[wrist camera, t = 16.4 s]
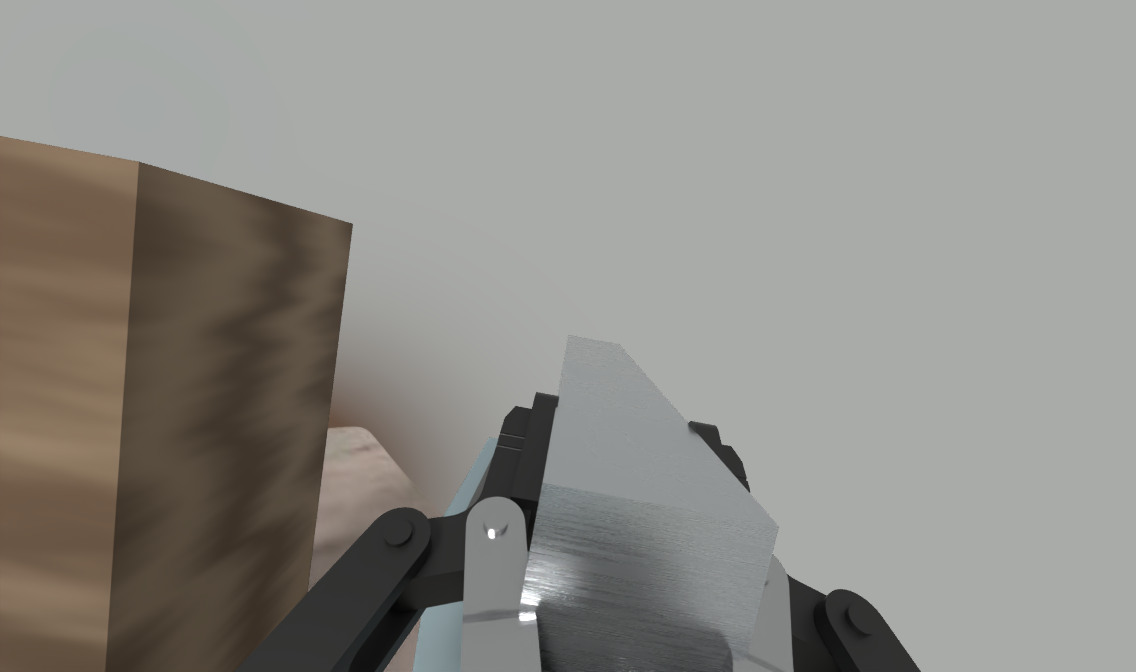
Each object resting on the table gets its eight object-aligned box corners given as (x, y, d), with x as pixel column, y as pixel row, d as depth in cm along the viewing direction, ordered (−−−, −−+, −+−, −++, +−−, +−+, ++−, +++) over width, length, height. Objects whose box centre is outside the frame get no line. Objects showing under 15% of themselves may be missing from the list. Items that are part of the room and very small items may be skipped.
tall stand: (149, 672, 29) (187, 194, 25) (309, 701, 29) (369, 227, 25) (-245, 1027, 15) (-286, 79, 11) (62, 1083, 15) (118, 153, 11)
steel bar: (559, 385, 33) (568, 335, 33) (609, 394, 33) (619, 344, 33) (503, 698, 7) (542, 483, 7) (726, 739, 7) (779, 526, 7)
